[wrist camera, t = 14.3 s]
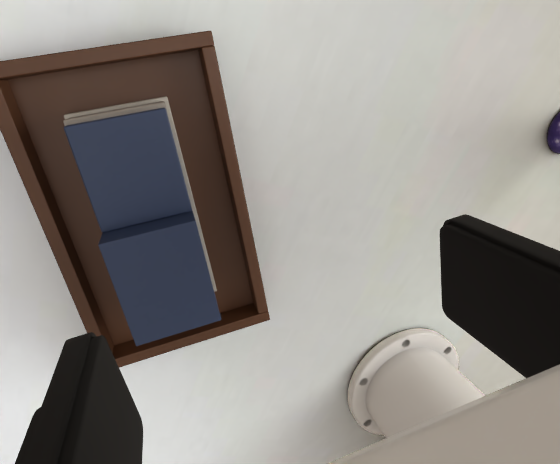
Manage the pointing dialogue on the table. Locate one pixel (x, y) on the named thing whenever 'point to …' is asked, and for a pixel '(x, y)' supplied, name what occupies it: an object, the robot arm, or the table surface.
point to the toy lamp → (554, 134)
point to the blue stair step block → (145, 216)
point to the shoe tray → (72, 193)
